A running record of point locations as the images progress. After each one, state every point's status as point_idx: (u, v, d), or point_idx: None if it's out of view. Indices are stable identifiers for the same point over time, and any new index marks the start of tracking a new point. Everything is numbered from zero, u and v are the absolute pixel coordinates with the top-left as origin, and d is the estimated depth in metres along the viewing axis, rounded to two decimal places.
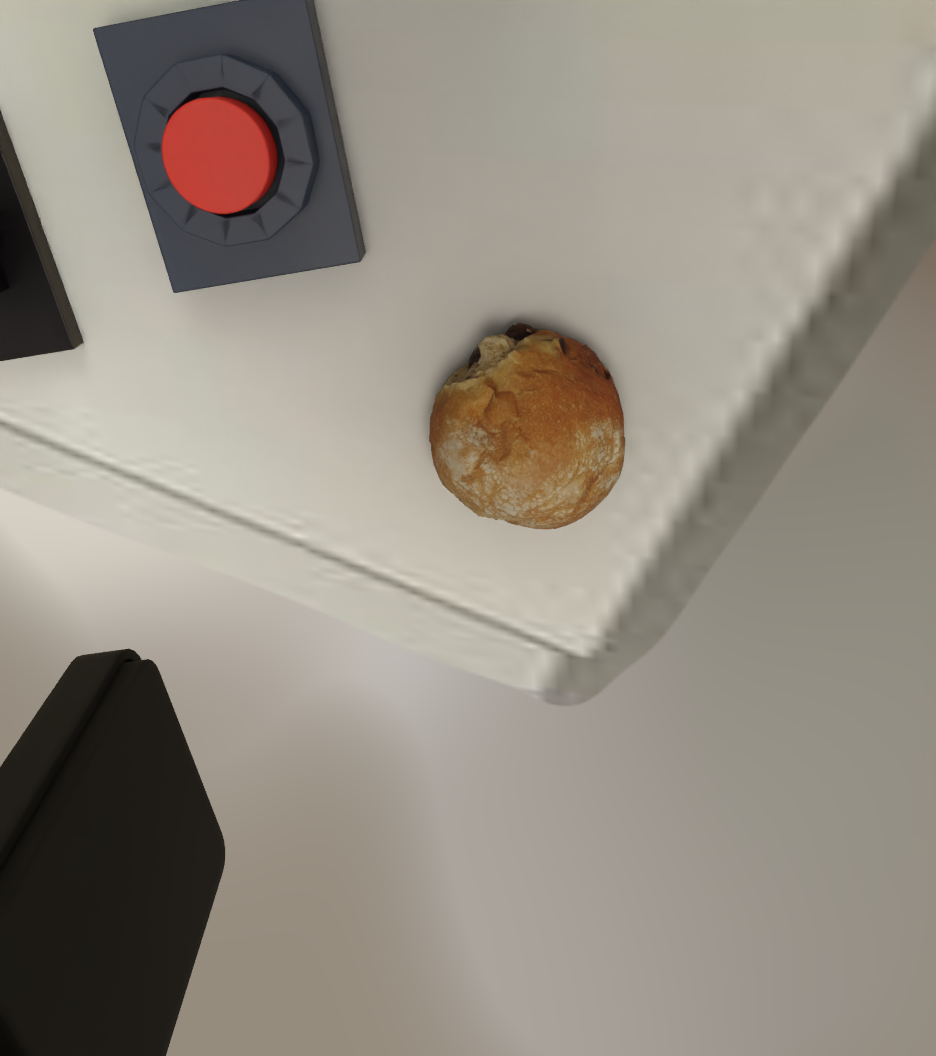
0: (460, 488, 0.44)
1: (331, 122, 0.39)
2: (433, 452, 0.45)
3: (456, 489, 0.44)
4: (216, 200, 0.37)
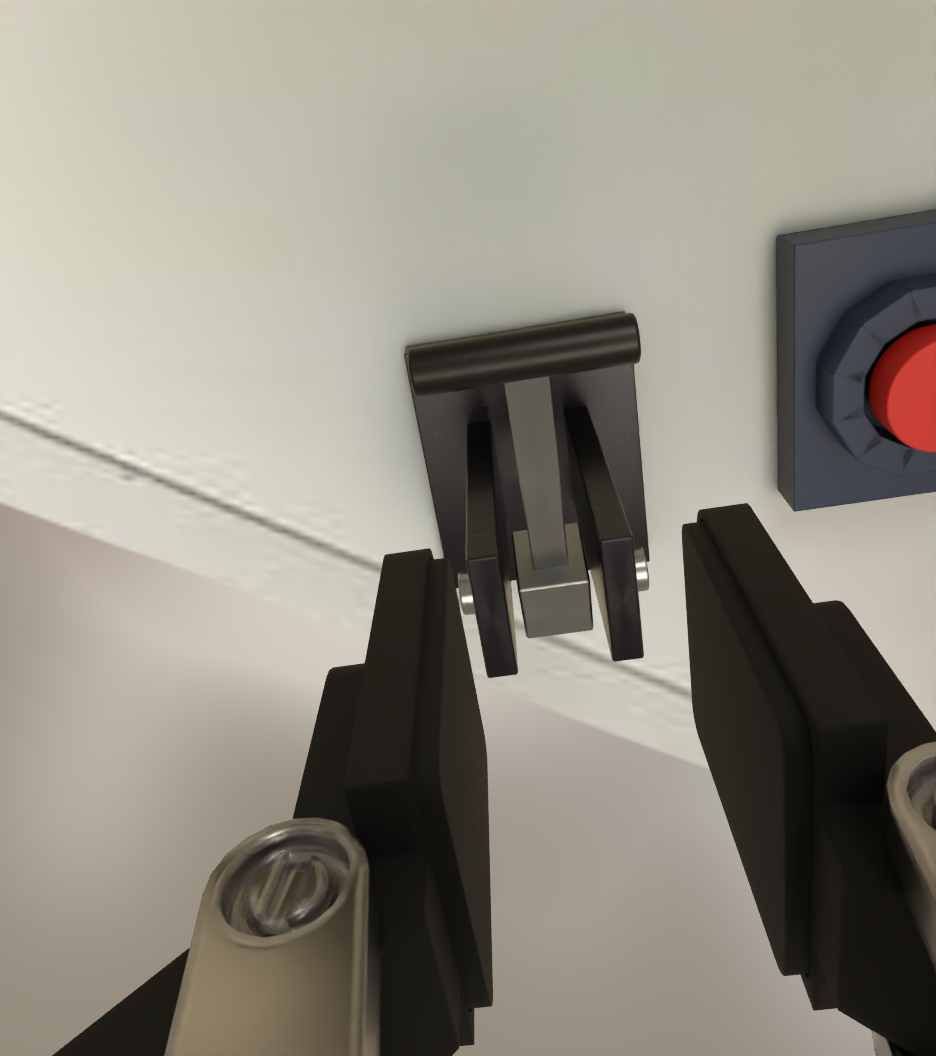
0: None
1: None
2: None
3: None
4: (933, 439, 0.33)
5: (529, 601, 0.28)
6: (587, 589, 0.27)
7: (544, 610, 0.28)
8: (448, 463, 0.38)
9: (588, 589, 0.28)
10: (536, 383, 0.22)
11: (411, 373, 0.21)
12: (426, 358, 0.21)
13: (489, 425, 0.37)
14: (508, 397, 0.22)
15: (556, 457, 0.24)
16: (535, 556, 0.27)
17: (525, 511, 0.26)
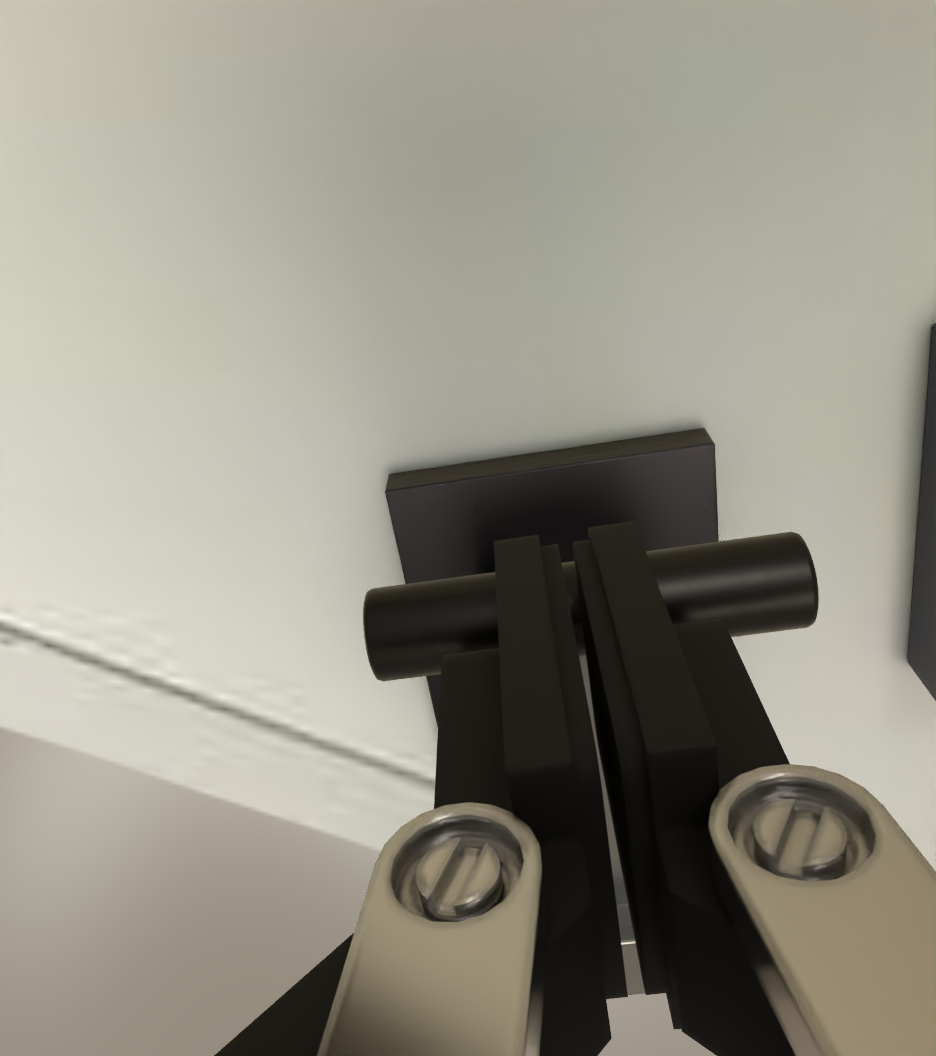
0: None
1: None
2: None
3: None
4: None
5: None
6: None
7: None
8: None
9: None
10: None
11: (368, 644, 0.11)
12: (398, 615, 0.11)
13: None
14: None
15: None
16: None
17: None
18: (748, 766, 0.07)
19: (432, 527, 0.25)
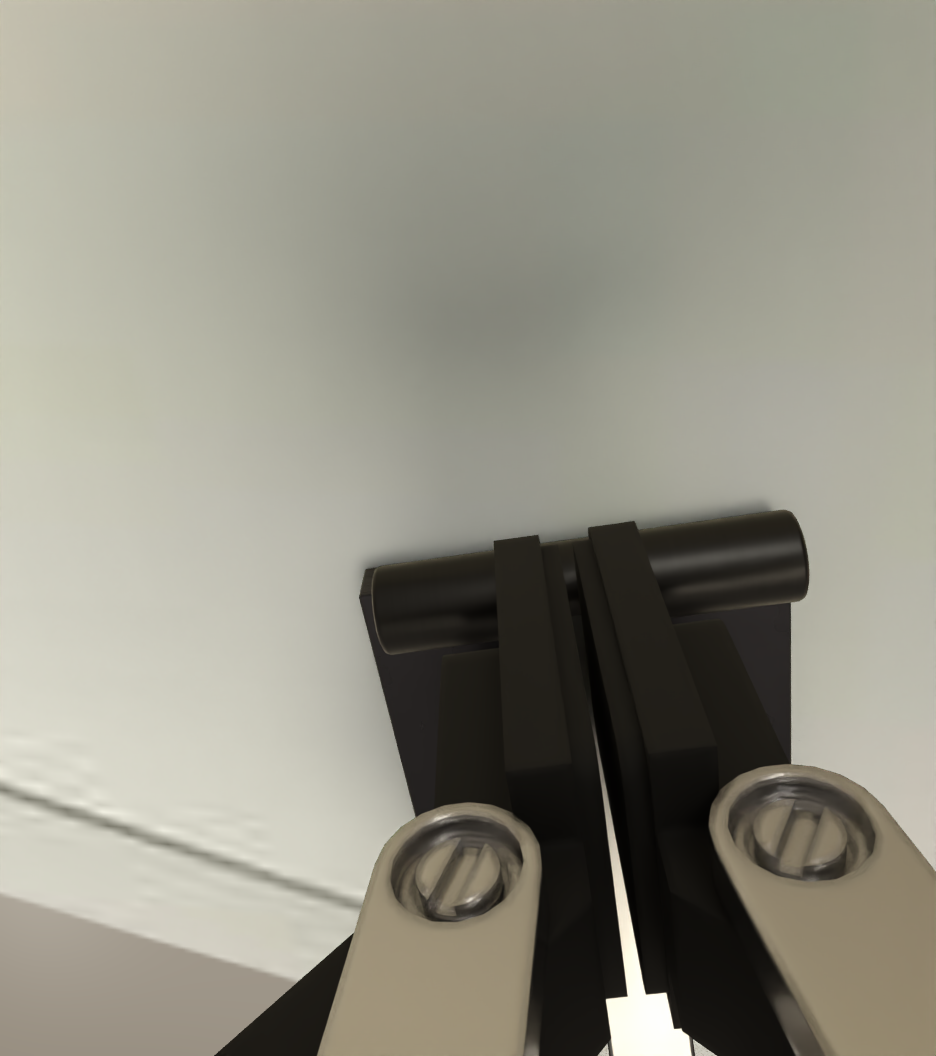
0: None
1: None
2: None
3: None
4: None
5: None
6: None
7: None
8: None
9: None
10: None
11: (374, 586, 0.12)
12: (406, 566, 0.12)
13: None
14: None
15: None
16: None
17: None
18: (748, 766, 0.07)
19: None
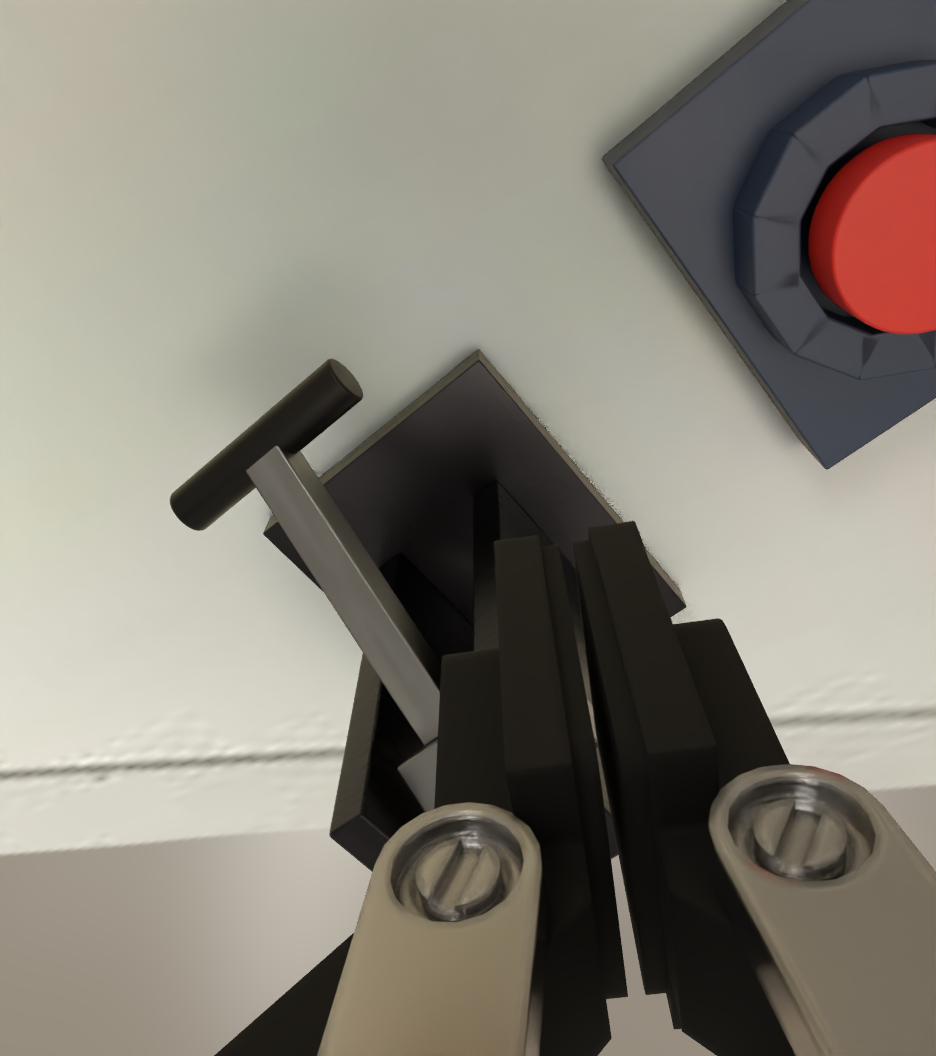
0: None
1: None
2: None
3: None
4: None
5: (418, 786, 0.20)
6: None
7: None
8: None
9: None
10: (271, 458, 0.21)
11: (170, 499, 0.22)
12: None
13: (398, 560, 0.29)
14: (256, 487, 0.21)
15: (342, 546, 0.21)
16: (410, 718, 0.21)
17: (357, 642, 0.21)
18: (748, 766, 0.07)
19: None
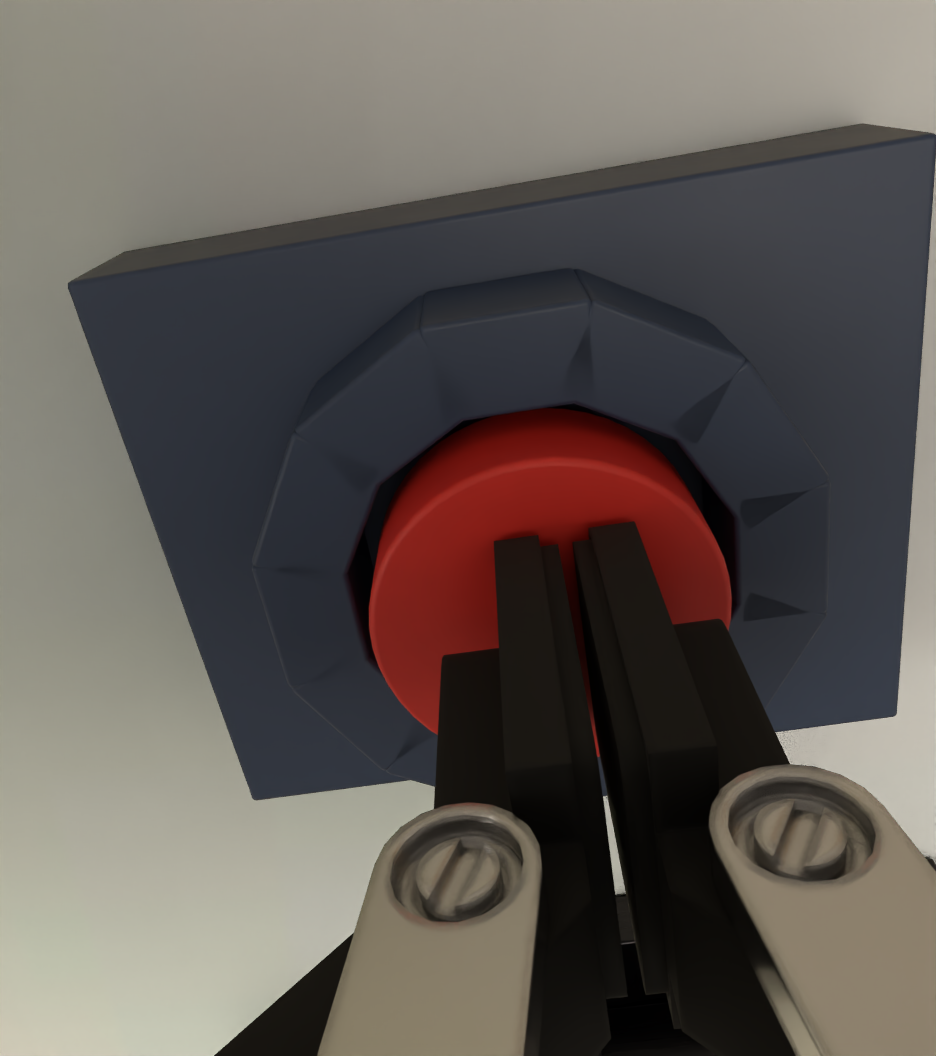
0: None
1: (453, 217, 0.11)
2: None
3: None
4: None
5: None
6: None
7: None
8: None
9: None
10: None
11: None
12: None
13: None
14: None
15: None
16: None
17: None
18: (748, 766, 0.07)
19: None
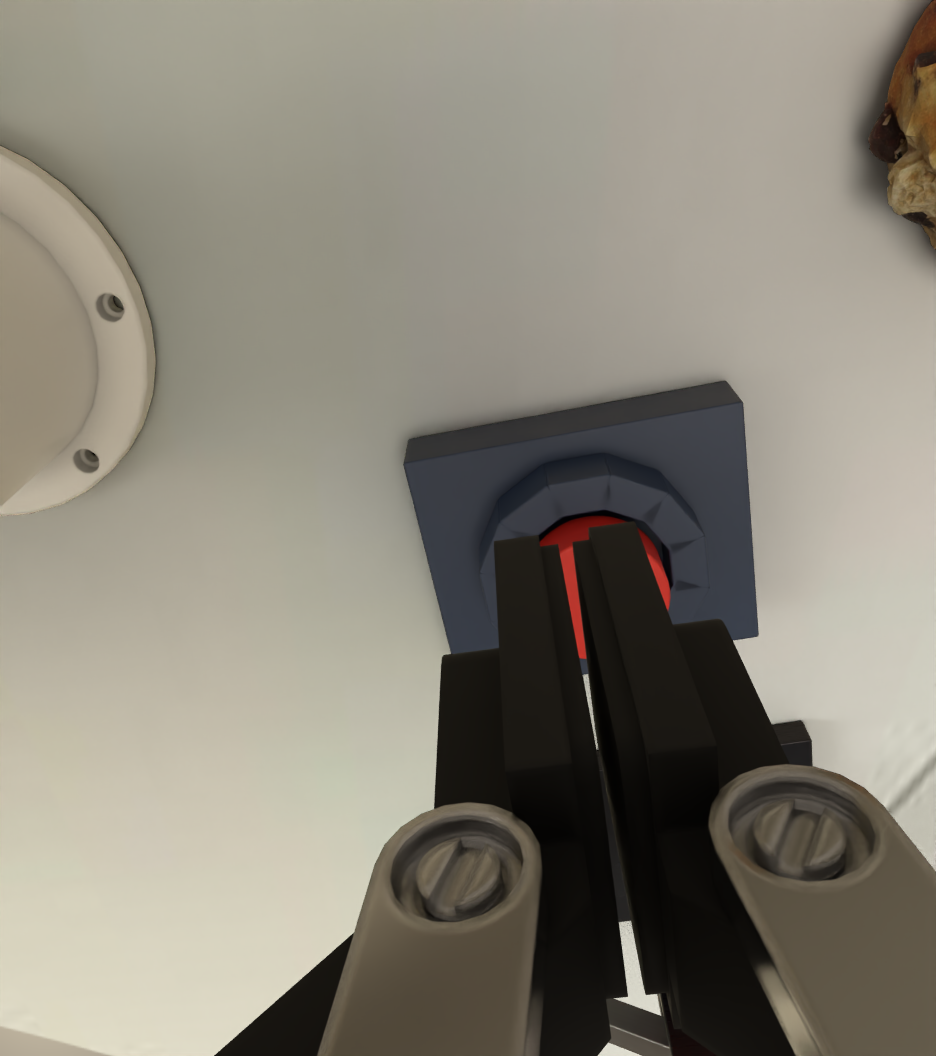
0: None
1: (556, 435, 0.29)
2: None
3: None
4: None
5: None
6: None
7: None
8: None
9: None
10: None
11: None
12: None
13: None
14: None
15: None
16: None
17: (616, 1045, 0.31)
18: (748, 766, 0.07)
19: None
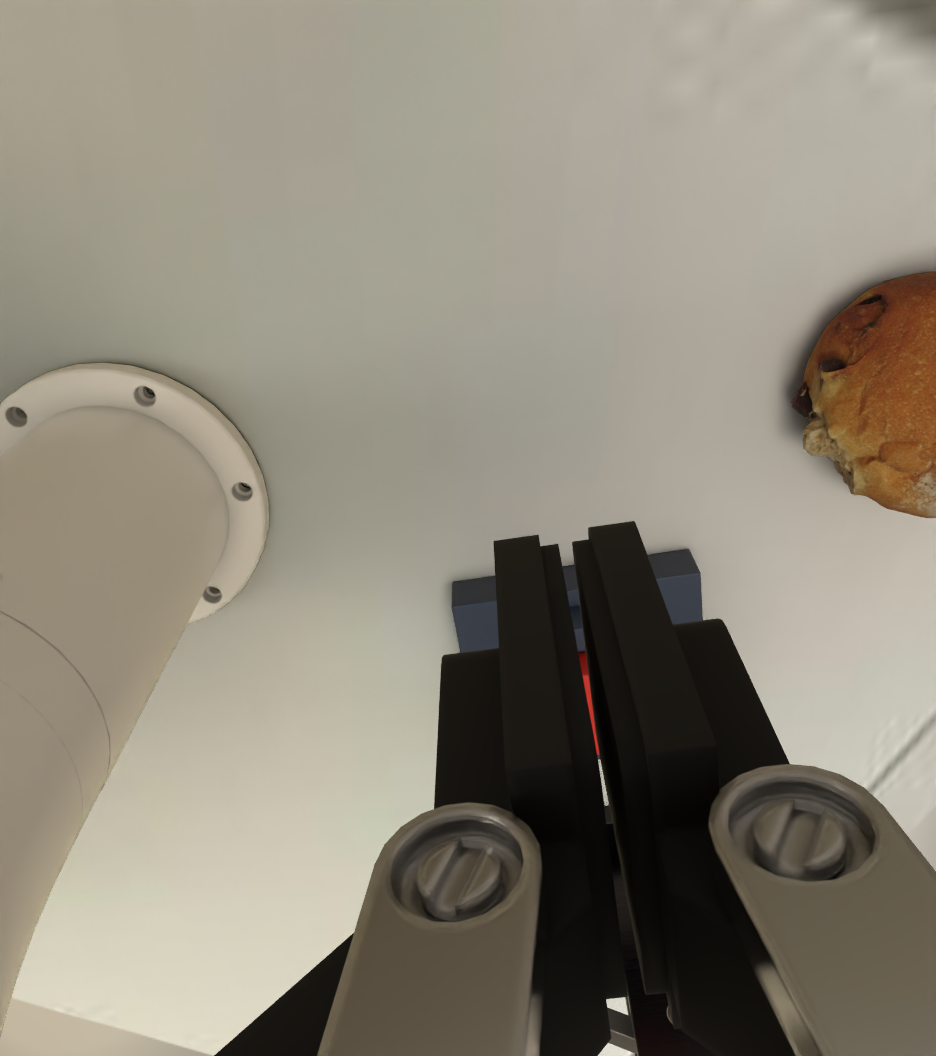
0: None
1: None
2: None
3: None
4: None
5: None
6: None
7: None
8: None
9: None
10: None
11: None
12: None
13: None
14: None
15: None
16: None
17: None
18: (748, 766, 0.07)
19: None
